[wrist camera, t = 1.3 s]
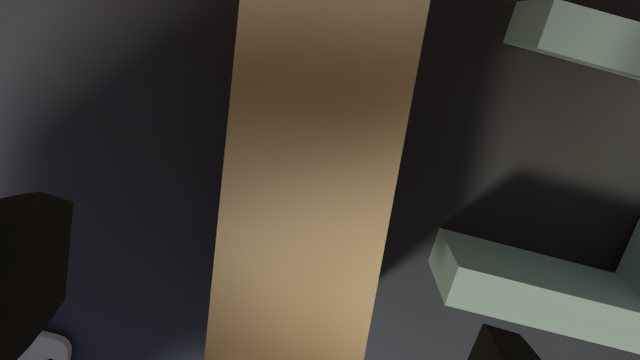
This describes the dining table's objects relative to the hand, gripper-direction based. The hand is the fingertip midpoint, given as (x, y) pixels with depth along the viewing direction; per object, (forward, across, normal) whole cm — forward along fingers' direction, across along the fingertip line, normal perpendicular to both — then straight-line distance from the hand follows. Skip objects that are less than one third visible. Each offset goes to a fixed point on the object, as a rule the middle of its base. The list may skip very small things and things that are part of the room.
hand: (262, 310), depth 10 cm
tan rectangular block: (+9, +1, -2) cm, 9 cm away
